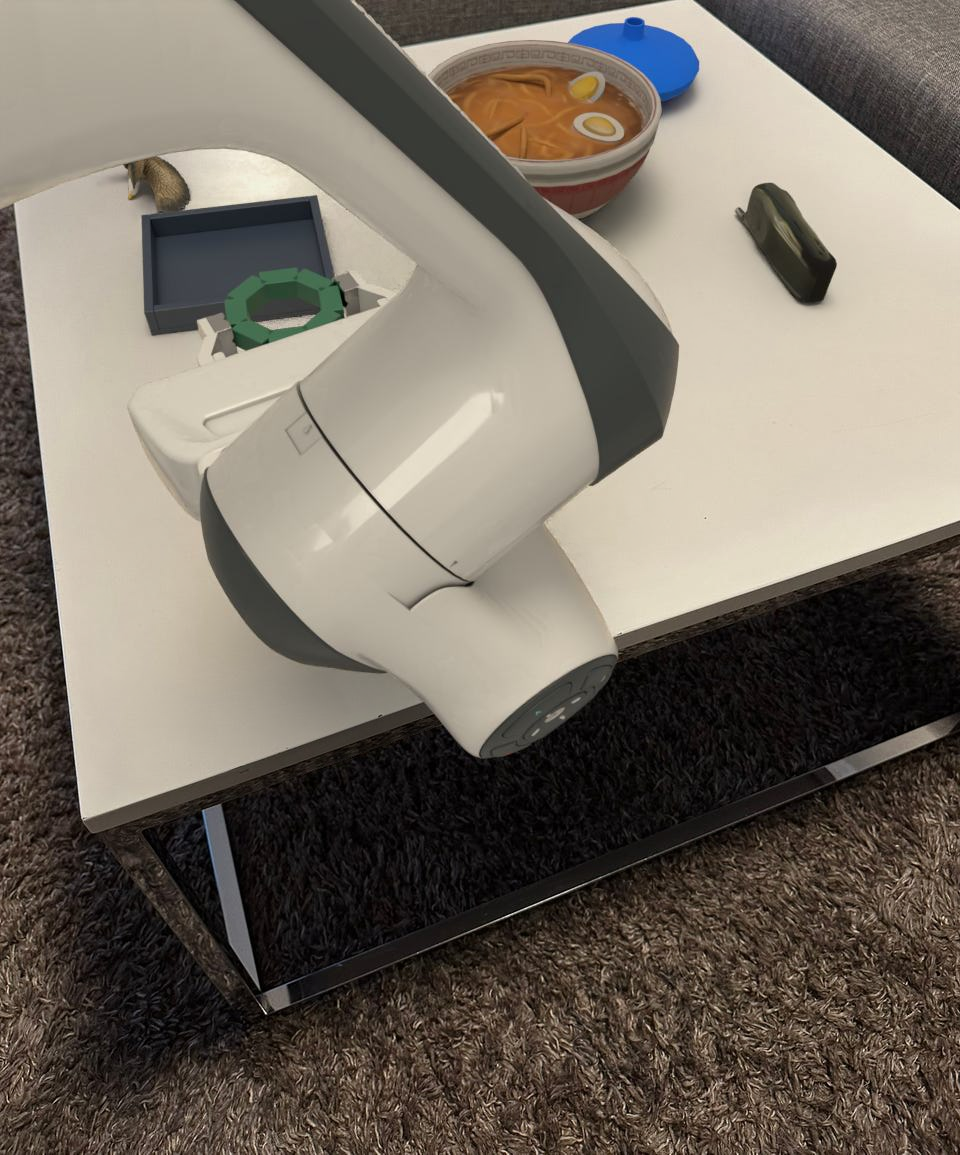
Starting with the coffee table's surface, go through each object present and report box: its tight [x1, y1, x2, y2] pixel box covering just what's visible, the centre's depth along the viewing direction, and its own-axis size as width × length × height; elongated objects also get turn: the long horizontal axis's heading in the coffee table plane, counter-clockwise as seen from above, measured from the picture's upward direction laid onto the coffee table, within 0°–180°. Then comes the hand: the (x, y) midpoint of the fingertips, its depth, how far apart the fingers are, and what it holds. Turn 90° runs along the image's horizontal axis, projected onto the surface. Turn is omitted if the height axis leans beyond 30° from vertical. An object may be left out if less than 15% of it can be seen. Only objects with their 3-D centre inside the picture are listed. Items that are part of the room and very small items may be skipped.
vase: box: [567, 16, 700, 102], centre depth 108 cm, size 16×16×7 cm
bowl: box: [427, 39, 663, 220], centre depth 93 cm, size 23×23×10 cm
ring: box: [224, 268, 346, 351], centre depth 54 cm, size 6×6×1 cm
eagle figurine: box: [122, 156, 191, 213], centre depth 94 cm, size 8×7×9 cm
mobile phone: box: [734, 182, 838, 304], centre depth 90 cm, size 5×3×15 cm
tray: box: [141, 194, 336, 336], centre depth 88 cm, size 17×15×2 cm
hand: (278, 304), depth 54 cm, fingers closed on ring, 7 cm apart
